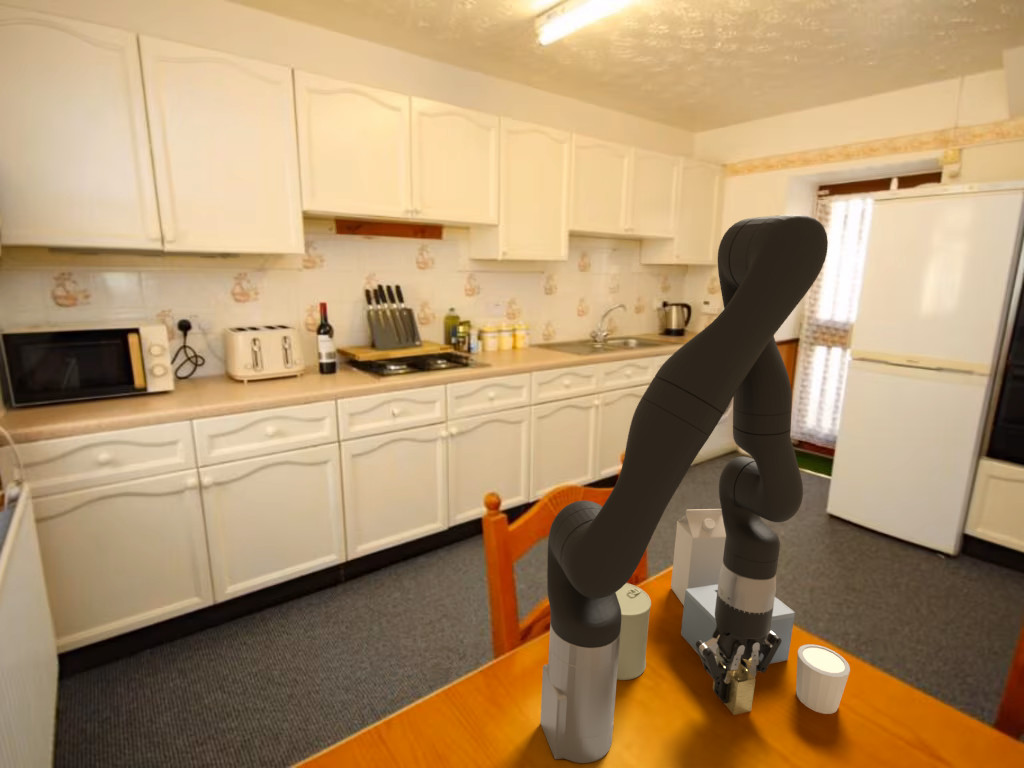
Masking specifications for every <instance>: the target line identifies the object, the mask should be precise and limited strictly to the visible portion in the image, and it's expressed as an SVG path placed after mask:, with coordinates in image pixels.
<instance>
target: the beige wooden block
mask: <svg viewBox="0 0 1024 768" xmlns="http://www.w3.org/2000/svg"><path fill="white" fill-rule="evenodd" d="M716 661H717V658H716ZM723 669H724V670H725V666H724V668H723ZM730 683H731V686H730V693H729V701H728V703H725V704H724V706H726V707H727V709H728V710H729V711H730V712H731V713H732V715H734V716H736V715H740V714H744V713H748V712H752V707H753V706H752V705H753V699H754V693H755V687H756V678H755V677H753V676H752V675H751V674H750V673H749V672H748V671H747V669H746V668H745V667H744V666H743V665H742V664H741V663H740V662H739V666H738V669H737V670H736V671H734V673H733V676H732V680H731V682H730ZM714 688H715V681H714V680H713V682H712V691H713V692H714Z"/></svg>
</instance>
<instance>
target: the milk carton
mask: <svg viewBox="0 0 1024 768" xmlns="http://www.w3.org/2000/svg"><path fill="white" fill-rule="evenodd" d="M725 540H726V533H725V528H724V523H723V516H722V510H721V508H707V509H706V508H705V509H704V508H702V509H701V508H699V509H686V511H685V515H684V516H682V517H681V518H679V519H678V520H677V521H676V532H675V541H674V552H673V562H672V571H671V574H672V575H671V584H670V589H671V590H672V591H673V593H674V595H676V597H677V598H678V600H679V601H680V603H681V604H682V605H683V607H684V600H685V591H686V589H690V588H697V587H703V586H710V585H716V584H718V581H719V574H720V570H721V566H722V563H723V555H724V547H725Z"/></svg>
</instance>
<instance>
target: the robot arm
mask: <svg viewBox="0 0 1024 768" xmlns="http://www.w3.org/2000/svg"><path fill="white" fill-rule="evenodd" d="M828 244H829V243H828V234H827V231H826V229H825V227H824V225H823V224H822V223H821V222H820V221H819V220H818V219H816V218H815V217H813V216H809V215H806V214H805V215H803V214H789V213H788V214H780V215H770V216H757V217H755V216H754V217H750V218H744V219H742V220H741V219H740V220H739V221H737V222H735V223H734V224H732V225H731V226H730V227H729V228H728V229H727V230H726V231H725V233H724V234H723V236H722V238H721V239H720V243H719V246H718V250H717V272H718V280H719V286H720V292H721V293H720V294H721V297H722V298H721V299H722V303H723V310H722V311H721V312H720V314H719V315H718V316H717V317H715V319H714V320H713V321H712V322H710V324H708V325H707V326H706V327H705V328H704V329H702V330H701V331H700V332H698V334H696V335H695V336H694V337H692V338H691V339H689V340H688V341H687V342H686V343H685V344H683V345H682V346H680V348H679V349H677V350H676V351H675V352H674V353H673V354H672V355H671V356H669V357H668V358H667V359H666V360H665V361H664V363H663V364H662V365H661V366H660V367H659V369H658V370H657V372H656V374H655V376H654V377H653V378H652V379H651V381H650V384H649V385H648V387H647V388H646V390H645V392H643V395H642V396H641V398H640V400H639V402H638V403H637V406H636V408H635V410H634V413H633V415H632V418H631V422H630V426H629V430H628V435H627V441H626V445H625V451H624V457H623V461H622V462H623V463H622V465H621V469H620V473H619V474H618V475H619V476H618V478H617V480H616V482H615V485H614V487H613V488H612V491H611V492H610V493H609V496H608V498H607V499H606V501H605V502H604V503H603V505H601V504H599V503H597V502H594V501H591V500H578V501H574V502H571V503H569V504H567V505H566V506H564V507H563V508H562V509H561V510H560V511H559V512H558V513H557V515H556V516H555V517H554V520H553V521H552V523H551V525H550V528H549V532H548V533H549V534H548V538H547V539H548V541H547V562H546V563H547V566H546V567H547V568H546V569H547V571H546V575H547V579H546V584H547V586H546V588H547V599H548V605H549V609H550V622H549V623H550V625H549V627H550V628H549V642H548V643H549V645H548V661H547V662H548V663H547V664H544V665H543V666H542V682H541V703H540V704H541V705H540V725H541V728H542V730H543V732H544V736H545V738H546V740H547V743H548V745H549V748H550V751H551V754H552V756H553V758H554V759H555V760H560V759H564V760H568V761H570V762H573V763H578V764H579V763H580V764H589V763H592V762H593V763H595V762H596V761H598V760H601V759H602V758H603V757H605V755H606V754H607V753H608V752H609V750H610V749H611V746H612V743H613V731H614V721H615V720H614V719H615V707H616V694H617V693H616V692H617V681H618V679H617V670H618V657H619V645H620V633H621V608H620V604H619V601H618V598H617V595H616V592H617V591H618V590H619V589H621V588H622V587H623V586H624V585H625V584H626V583H629V582H628V581H630V579H631V578H632V577H633V575H634V573H635V571H636V570H637V567H638V566H639V564H640V562H641V561H642V558H643V556H644V554H645V552H646V550H647V548H648V547H649V544H650V541H651V539H652V537H653V536H654V533H655V531H656V528H657V527H658V524H659V523H660V521H661V518H662V517H663V515H664V513H665V510H666V509H667V507H668V505H669V504H670V502H671V500H672V498H673V496H675V493H676V491H677V490H678V488H679V486H680V485H681V483H682V481H683V479H684V478H685V476H686V475H687V473H688V471H689V469H690V467H692V464H693V462H694V461H695V459H696V458H697V456H698V454H699V453H700V451H701V450H702V449H703V447H704V445H705V444H706V443H707V441H708V440H709V439H710V437H711V434H712V433H713V432H714V430H715V429H716V427H717V425H718V424H719V422H720V420H722V418H723V415H724V414H725V413H726V410H727V408H728V407H729V405H730V403H731V401H732V437H733V441H734V443H735V444H736V446H738V447H739V448H740V449H741V450H742V451H744V452H745V453H747V454H748V455H749V457H748V456H742V455H741V456H737V457H734V458H732V459H730V461H728V462H727V463H726V465H725V466H724V468H723V469H722V472H721V473H720V476H719V482H718V498H719V503H720V509H721V510H722V517H723V523H724V528H725V533H726V540H725V547H724V555H723V563H722V566H721V570H720V574H719V581H718V590H717V598H716V607H715V619H716V629H715V631H714V632H713V635H712V639H710V640H709V641H707V642H705V643H704V642H703V641H702V640H699V641H697V642H696V648H697V650H698V653H699V654H698V653H697V654H698V656H699V655H700V656H699V659H700V661H701V662H702V663H701V664H702V665H703V668H704V670H705V672H707V674H708V675H709V676H710V677H711V679H712V680H713V681H715V688H714V691H713V692H714V694H715V695H716V696H717V697H718V699H719V701H721V702H722V703H723V704H724V705H725V703H728V701H729V693H730V686H731V683H730V682H731V680H732V676H733V673H734V671H736V670H737V669H738V666H739V662H740V663H741V664H742V665H743V666H744V667H745V668H746V669H747V671H748V672H749V673H750V674H751V675H752V676H753V677H754V678H755V677H756V676H757V673H759V672H760V674H764V673H766V671H767V669H768V668H769V666H770V665H771V664H770V662H771V660H772V658H773V657H774V655H775V653H776V651H777V649H778V647H779V646H780V644H781V641H782V640H781V638H779V637H778V636H777V635H776V634H775V633H774V632H773V631H771V630H770V627H771V620H772V613H773V607H774V599H775V597H776V592H777V569H778V563H779V556H780V550H781V549H780V548H781V543H780V538H779V535H778V534H777V533H776V531H774V530H773V529H772V528H771V527H769V526H768V525H767V524H766V523H765V522H764V521H763V520H762V519H764V520H766V521H769V522H773V523H783V522H787V521H788V520H790V519H792V518H793V517H794V516H795V515H796V514H797V513H798V511H799V509H800V508H801V505H802V501H803V498H804V497H803V495H804V487H803V486H804V485H803V480H802V474H801V471H800V468H799V464H798V460H797V456H796V451H795V449H794V448H795V447H794V445H793V442H792V437H791V430H792V412H793V411H792V409H793V392H792V387H791V382H790V380H791V379H790V377H789V373H788V370H787V367H786V365H785V362H784V359H783V358H782V355H781V353H780V350H779V348H778V345H777V342H776V339H775V335H776V334H777V332H778V330H779V329H780V328H781V327H782V325H783V324H784V323H785V321H786V320H787V319H788V318H789V317H790V315H791V314H792V313H793V312H794V310H795V309H796V307H797V306H798V305H799V304H800V302H801V301H802V299H803V298H804V297H805V296H806V295H807V293H808V292H809V290H810V289H811V287H813V284H814V283H815V282H816V280H817V278H818V277H819V275H820V273H821V271H822V269H823V267H824V263H825V261H826V257H827V255H828ZM716 649H717V651H716ZM761 653H762V654H763V655H764V657H763V659H762V661H760V660H759V656H760V655H761ZM715 658H717V661H716V660H715ZM724 666H725V670H724V669H723V668H724Z"/></svg>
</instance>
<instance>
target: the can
mask: <svg viewBox="0 0 1024 768" xmlns="http://www.w3.org/2000/svg"><path fill="white" fill-rule="evenodd" d="M616 595H617V598H618V601H619V604H620V608H621V633H620V645H619V657H618V670H617V680H621V681H629V680H633V679H635V678H636V679H637V678H638V677H640V676H641V675H642V674H643V673H644V671H645V670H646V667H647V661H646V660H647V659H646V656H647V643H648V634H649V632H648V631H649V622H650V611H651V608H652V607H651V606H652V601H651V598H650V596H649V594H648V593H647V592H646V591H644V590H643V589H642V588H641V587H638V586H637V585H634V584H631V583H629V582H627V583H626V584H625V585H624V586H623V587H622V588H621V589H619V590H618V591H617V592H616Z"/></svg>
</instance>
